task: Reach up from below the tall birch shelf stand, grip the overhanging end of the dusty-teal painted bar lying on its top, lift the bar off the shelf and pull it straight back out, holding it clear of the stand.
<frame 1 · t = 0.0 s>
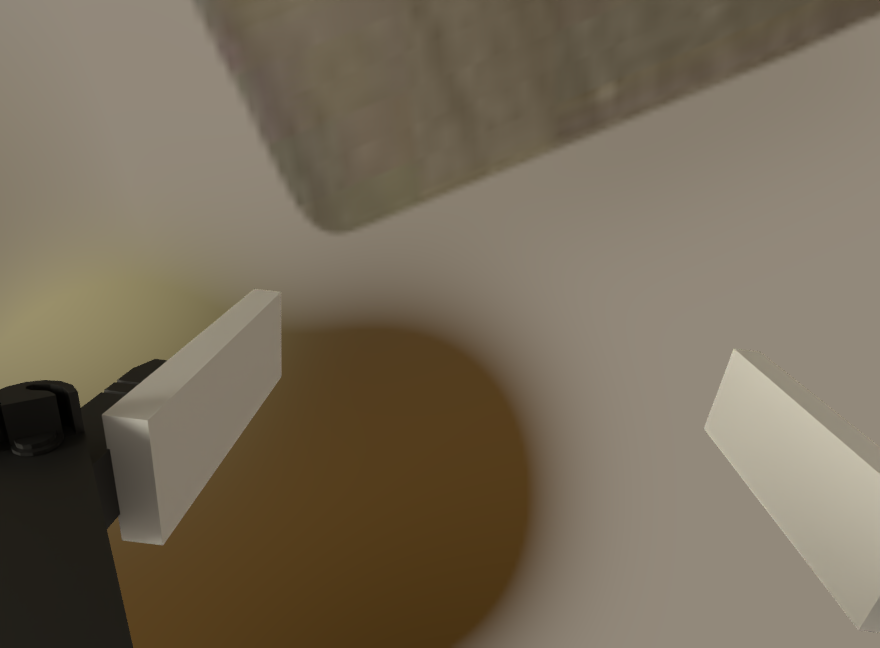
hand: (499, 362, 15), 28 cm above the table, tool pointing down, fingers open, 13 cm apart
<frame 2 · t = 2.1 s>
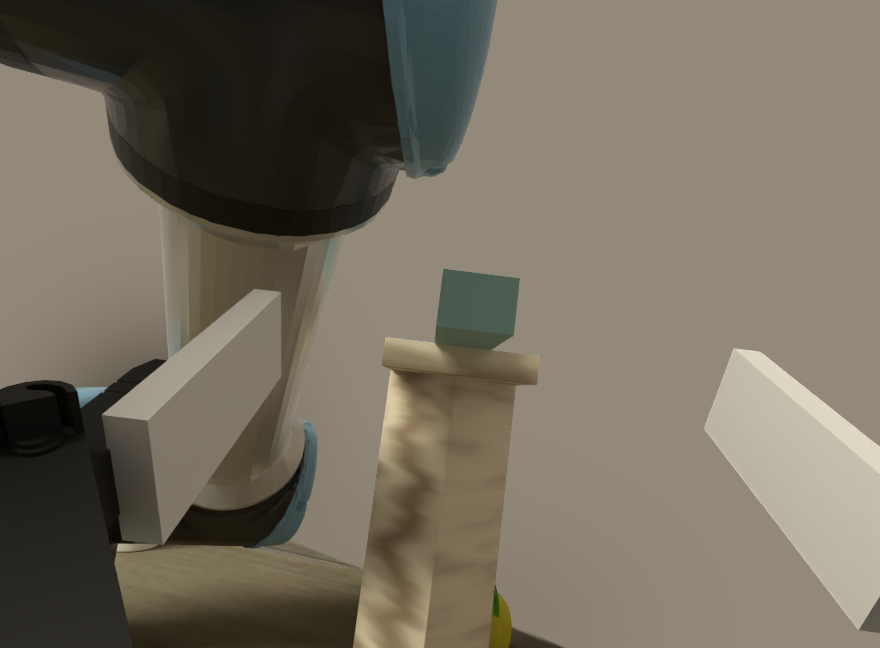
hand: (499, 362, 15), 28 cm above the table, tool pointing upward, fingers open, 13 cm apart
bar: (460, 349, 39), point 30 cm above the table, touching stand
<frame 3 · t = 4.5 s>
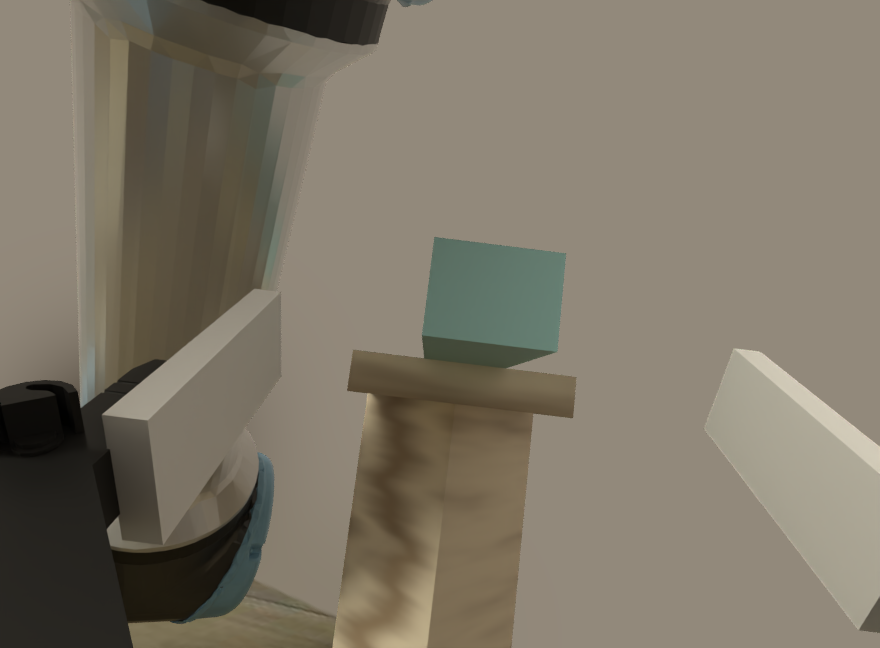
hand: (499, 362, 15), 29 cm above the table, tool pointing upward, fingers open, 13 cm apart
bar: (460, 366, 28), point 30 cm above the table, touching stand
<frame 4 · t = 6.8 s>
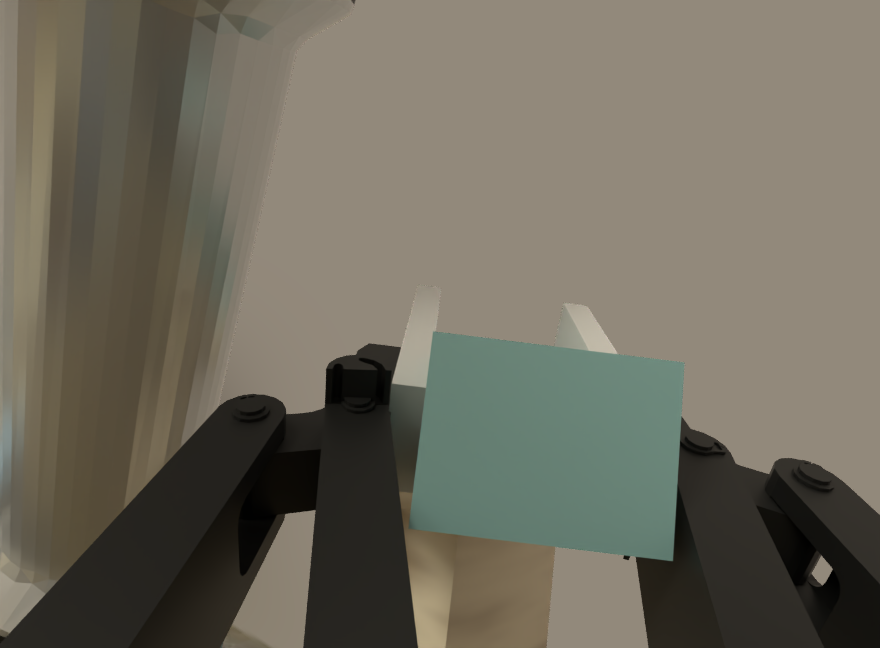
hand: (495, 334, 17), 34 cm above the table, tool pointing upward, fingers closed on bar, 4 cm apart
bar: (471, 447, 20), point 30 cm above the table, touching gripper, stand
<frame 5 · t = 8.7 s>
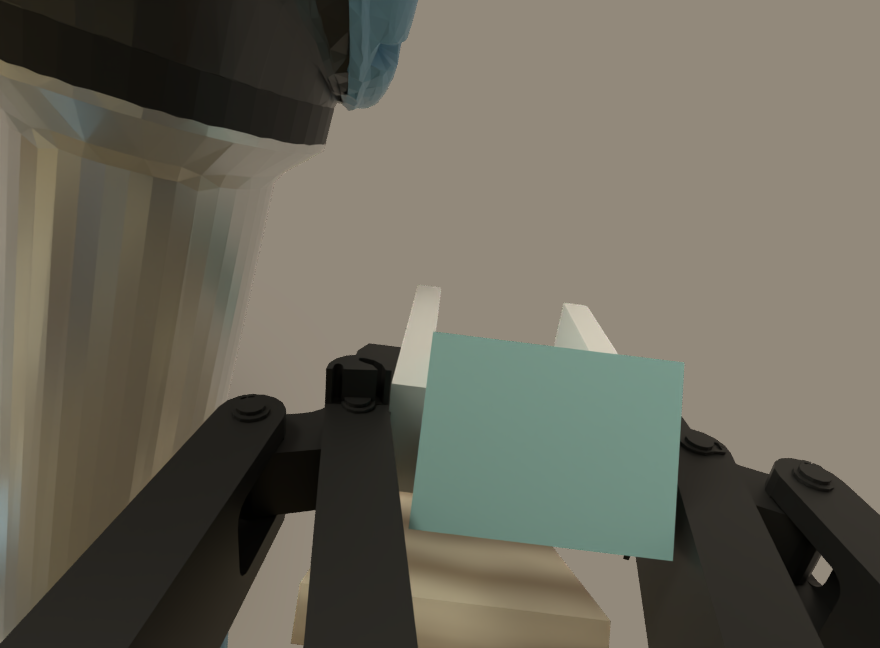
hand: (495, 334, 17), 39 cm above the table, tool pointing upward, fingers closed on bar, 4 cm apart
bar: (471, 447, 20), point 35 cm above the table, touching gripper
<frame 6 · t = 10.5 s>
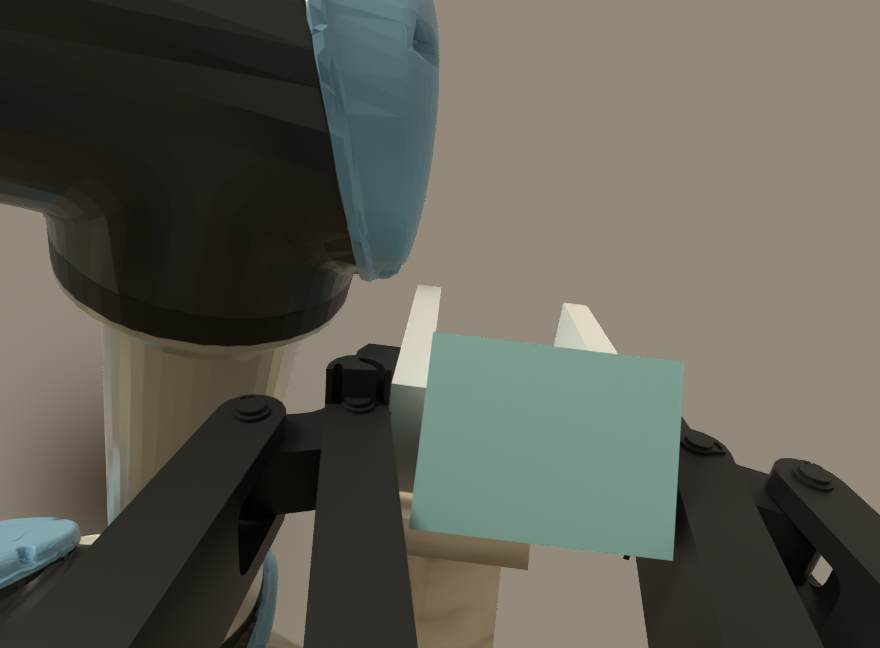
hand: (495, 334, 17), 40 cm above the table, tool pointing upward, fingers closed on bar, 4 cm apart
bar: (471, 447, 20), point 35 cm above the table, touching gripper
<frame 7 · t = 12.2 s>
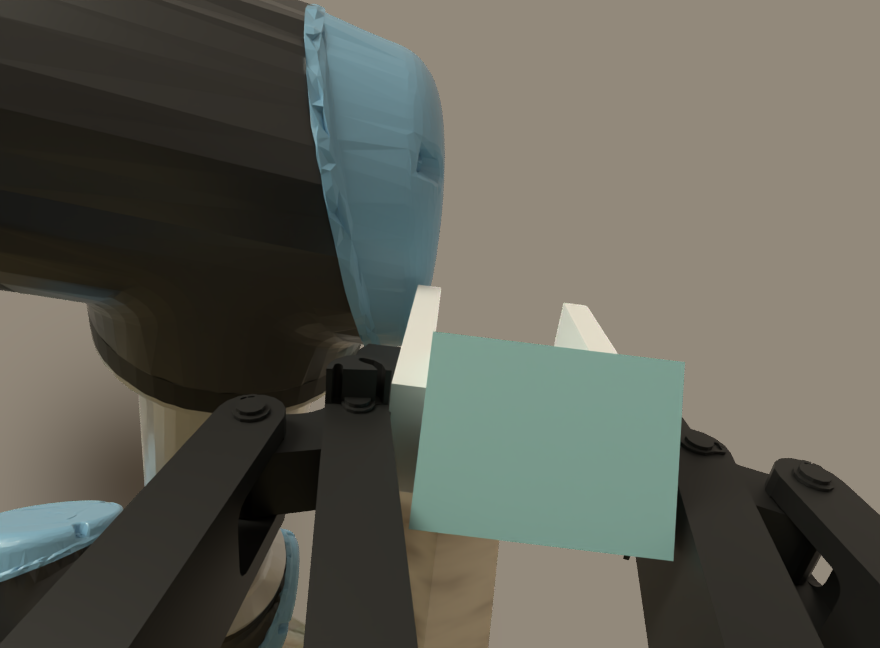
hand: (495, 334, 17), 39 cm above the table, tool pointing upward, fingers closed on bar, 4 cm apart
bar: (471, 447, 20), point 35 cm above the table, touching gripper
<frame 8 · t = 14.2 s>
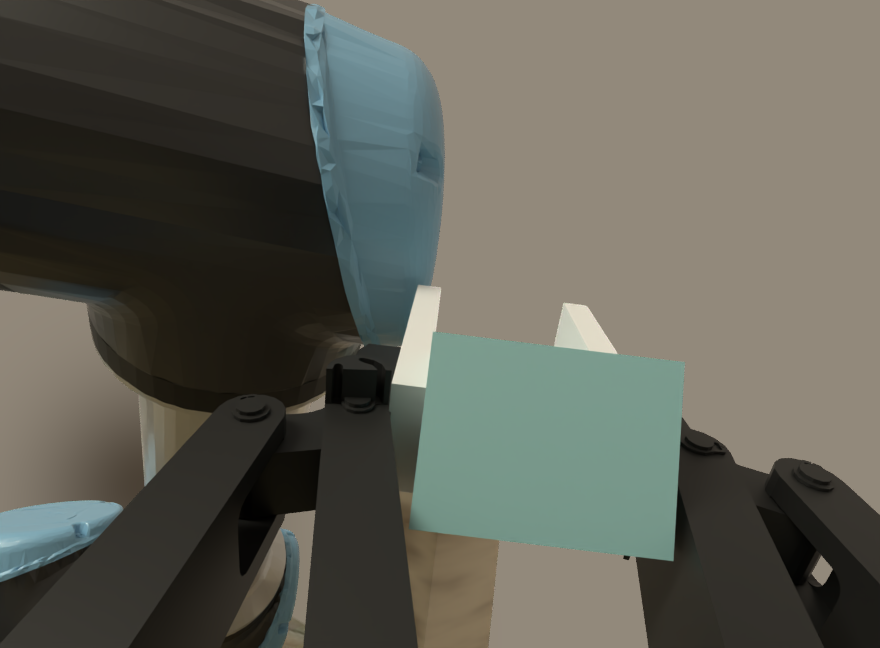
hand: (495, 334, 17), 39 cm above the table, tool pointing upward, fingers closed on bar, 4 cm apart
bar: (471, 447, 20), point 35 cm above the table, touching gripper
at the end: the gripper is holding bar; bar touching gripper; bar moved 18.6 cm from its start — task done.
